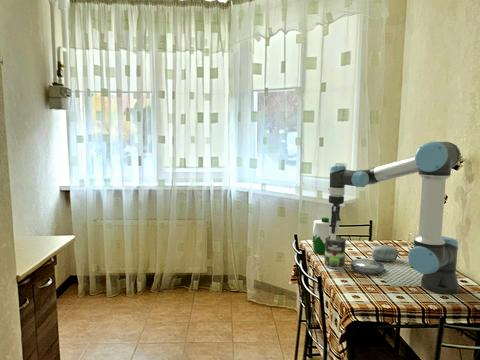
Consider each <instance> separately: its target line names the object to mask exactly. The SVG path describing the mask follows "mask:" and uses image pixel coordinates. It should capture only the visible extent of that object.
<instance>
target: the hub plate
mask: <svg viewBox="0 0 480 360" xmlns="http://www.w3.org/2000/svg"><path fill="white" fill-rule="evenodd" d="M350 270H351V271H353V272H356V274H361V275H367V276H378V275H382V274H383V273H384V271H385V265H384V264H383V263H381V262H380V261H378V260H374V259H373V260H371V259H364V258H363V259H362V258H361V259H353V260H352V261H351V262H350Z"/></svg>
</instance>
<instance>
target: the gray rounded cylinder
mask: <svg viewBox="0 0 480 360" xmlns="http://www.w3.org/2000/svg"><path fill="white" fill-rule="evenodd" d="M398 256H399V251H398V249H397V247H395V246H392V245H385V244H380V245H376V246H374V247H373V248H372V250H371V257H372V259H373V260H374V261H377V262H394V261H396V260H397V259H398Z"/></svg>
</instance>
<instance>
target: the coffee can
mask: <svg viewBox="0 0 480 360" xmlns="http://www.w3.org/2000/svg"><path fill="white" fill-rule="evenodd" d="M325 240H326V241H325V254H324V264H323V265H324V267H326V268H328V269H335V270H340V269H344V268H345V261H346V260H345V259H346V257H345V256H346V241H347V239H346V238H343V237H339V236H336V240H331V239H330V236H329V237H327V238H325Z"/></svg>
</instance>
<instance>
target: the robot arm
mask: <svg viewBox="0 0 480 360" xmlns="http://www.w3.org/2000/svg"><path fill="white" fill-rule="evenodd" d="M461 154H462V153H461V151H460V148H459V147H458V146H457V145H456V144H455V143H452V142H450V141H430V142H425V143H424V144H422V145H420V146H419V147H418V148H417V150H416V152H415V155H414V156H411V157H407V158H403V159H401V160H395V161H393V162H389V163H387V164H383V165H380V166H376V167H372V168H368V169H359V170H358V169H357V170H351V169H347V167H346V165H343V164H332V165H331V166H330V171H329V188H328V189H327V190H328V191H329V192H328V194H329V196H328V203H329V204H332V206H331V218H330V225H329V227H330V231H329V237H330V239H331V240H336V237H337V234H339V233H340V231H339V230H340V221H341V217H340V211H341V206H340V205H343V204H345V191H346V189H345V186H350V187H351V186H352V187H356V188H366V186H367V185H375V184H377V183H380V182H385V181H389V180H393V179H396V178H397V179H398V178H400V177H404V176H408V175H412V174H416V173H418V176H419V177H420V178H421V179H422V180H421V193H420V206H419V207H420V209H419V221H418V233H417V234H418V235H416V236H414V239H413V247H412V248H411V249H410V250H409V252H408V255H407V256H408V257H407V259H408V263H409V264H410V266H411V267H412V268H413V269H414V270H415V271H416V272H418V273H420V274H422V277H421V279H420V286H421V287H422V288H423V289H425V290H427V291H429V292H432V293H437V294H442V295H454V294H455V295H456V294H458V293H459V291H460V284H459V281H458V277H457V263H458V261H457V260H458V252H459V251H458V249H459V242H458V240H457V239H455V238H453V237H449V236H442V235H443V234H442V231H443V219H444V208H445V207H444V206H445V205H444V204H445V193H446V182H447V179H448V178H450V177H451V176H452V174H451V171H452V168H454V167H455V166H457V164H458V163H459V162H460V159H461V157H462V156H461Z"/></svg>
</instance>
